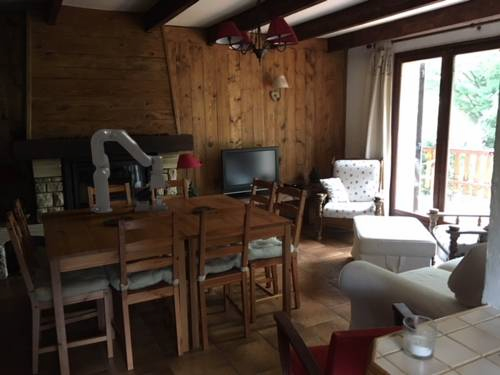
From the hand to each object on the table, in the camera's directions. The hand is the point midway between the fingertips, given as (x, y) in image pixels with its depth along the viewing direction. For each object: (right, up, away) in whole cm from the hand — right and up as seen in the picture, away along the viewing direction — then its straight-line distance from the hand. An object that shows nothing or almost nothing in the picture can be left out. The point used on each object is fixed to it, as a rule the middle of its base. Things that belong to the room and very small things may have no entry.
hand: (158, 195), depth 319 cm
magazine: (-15, -8, +17) cm, 24 cm away
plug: (+1, -10, +2) cm, 10 cm away
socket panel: (-5, -10, 0) cm, 12 cm away
